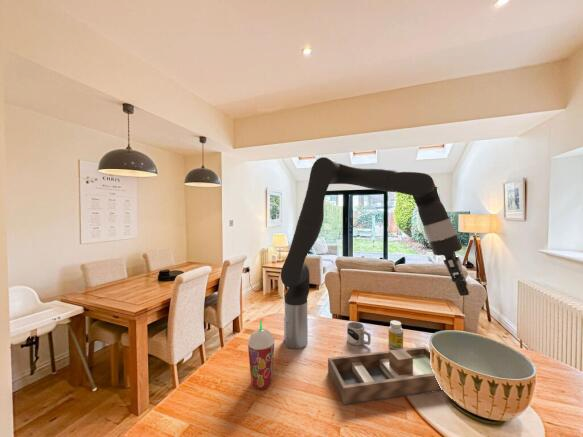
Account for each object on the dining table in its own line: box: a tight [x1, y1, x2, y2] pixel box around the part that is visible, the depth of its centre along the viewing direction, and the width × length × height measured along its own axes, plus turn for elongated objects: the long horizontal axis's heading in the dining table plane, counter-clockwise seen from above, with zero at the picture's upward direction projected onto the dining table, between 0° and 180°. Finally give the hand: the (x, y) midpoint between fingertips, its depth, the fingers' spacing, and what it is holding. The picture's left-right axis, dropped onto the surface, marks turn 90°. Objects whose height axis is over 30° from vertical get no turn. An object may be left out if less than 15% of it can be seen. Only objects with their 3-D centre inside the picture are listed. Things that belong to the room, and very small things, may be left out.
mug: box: [346, 321, 372, 347], centre depth 100 cm, size 10×7×7 cm, turn 42°
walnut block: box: [388, 348, 413, 376], centre depth 79 cm, size 5×5×5 cm
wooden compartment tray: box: [327, 346, 442, 406], centre depth 78 cm, size 36×14×5 cm, turn 99°
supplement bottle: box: [388, 319, 404, 350], centre depth 97 cm, size 5×5×10 cm
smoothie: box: [247, 320, 276, 390], centre depth 78 cm, size 8×8×20 cm
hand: (463, 290), depth 71 cm, fingers open, 8 cm apart
